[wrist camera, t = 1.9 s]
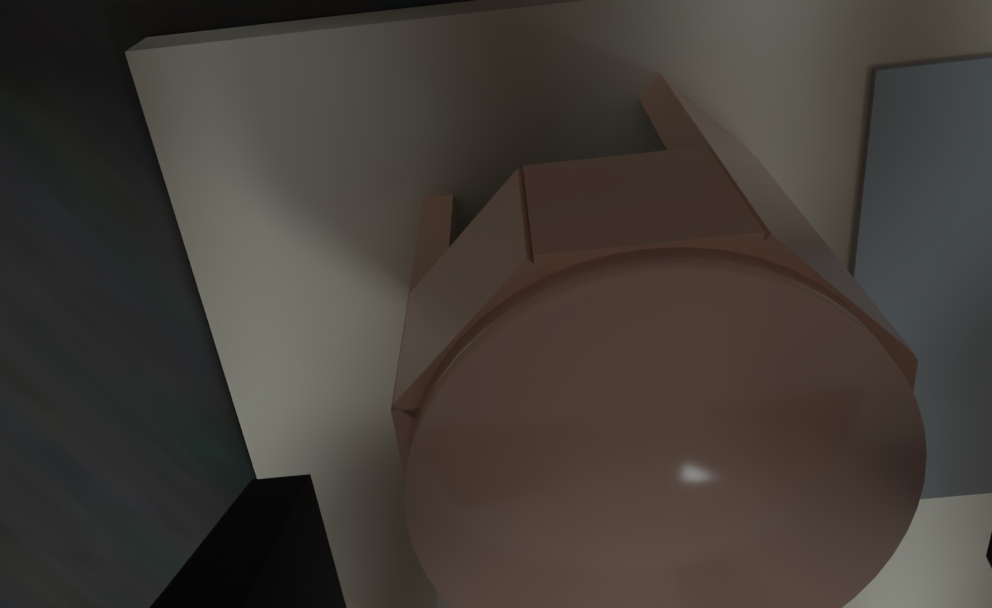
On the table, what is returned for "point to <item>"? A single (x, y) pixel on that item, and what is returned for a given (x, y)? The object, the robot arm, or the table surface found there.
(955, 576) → the board
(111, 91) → the table surface
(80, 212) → the table surface
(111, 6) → the table surface
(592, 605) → the pink stool
